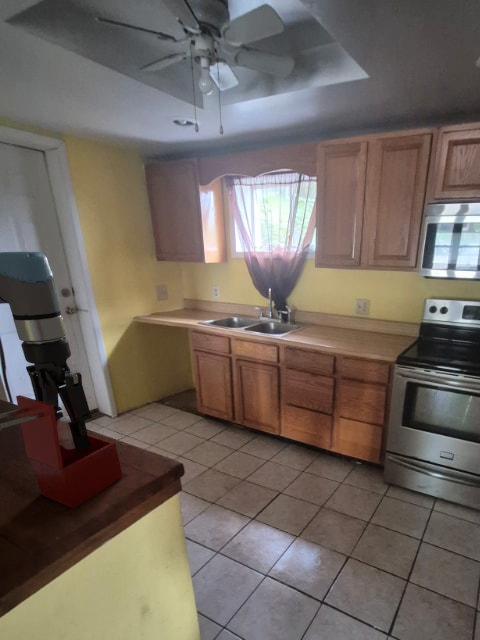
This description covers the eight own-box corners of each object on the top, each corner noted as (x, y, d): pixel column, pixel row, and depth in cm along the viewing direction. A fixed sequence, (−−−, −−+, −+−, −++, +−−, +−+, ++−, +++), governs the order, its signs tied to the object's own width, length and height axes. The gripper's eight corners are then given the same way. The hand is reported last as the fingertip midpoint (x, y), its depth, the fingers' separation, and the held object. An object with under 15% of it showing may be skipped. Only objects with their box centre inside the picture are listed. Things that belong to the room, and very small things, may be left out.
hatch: (20, 395, 73) (-41, 408, 64) (53, 404, 69) (-7, 420, 60) (31, 455, 77) (-25, 475, 68) (63, 468, 73) (7, 491, 64)
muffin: (95, 439, 82) (88, 410, 79) (78, 453, 77) (70, 423, 74) (68, 438, 82) (60, 409, 80) (49, 452, 77) (40, 422, 74)
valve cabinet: (93, 467, 91) (84, 432, 87) (123, 478, 87) (115, 442, 83) (42, 496, 81) (29, 458, 77) (73, 510, 77) (61, 470, 73)
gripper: (96, 340, 70) (118, 447, 79) (33, 329, 77) (61, 428, 86) (57, 350, 63) (86, 464, 72) (-7, 337, 71) (27, 442, 80)
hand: (72, 444), depth 79 cm, fingers closed on muffin, 6 cm apart
